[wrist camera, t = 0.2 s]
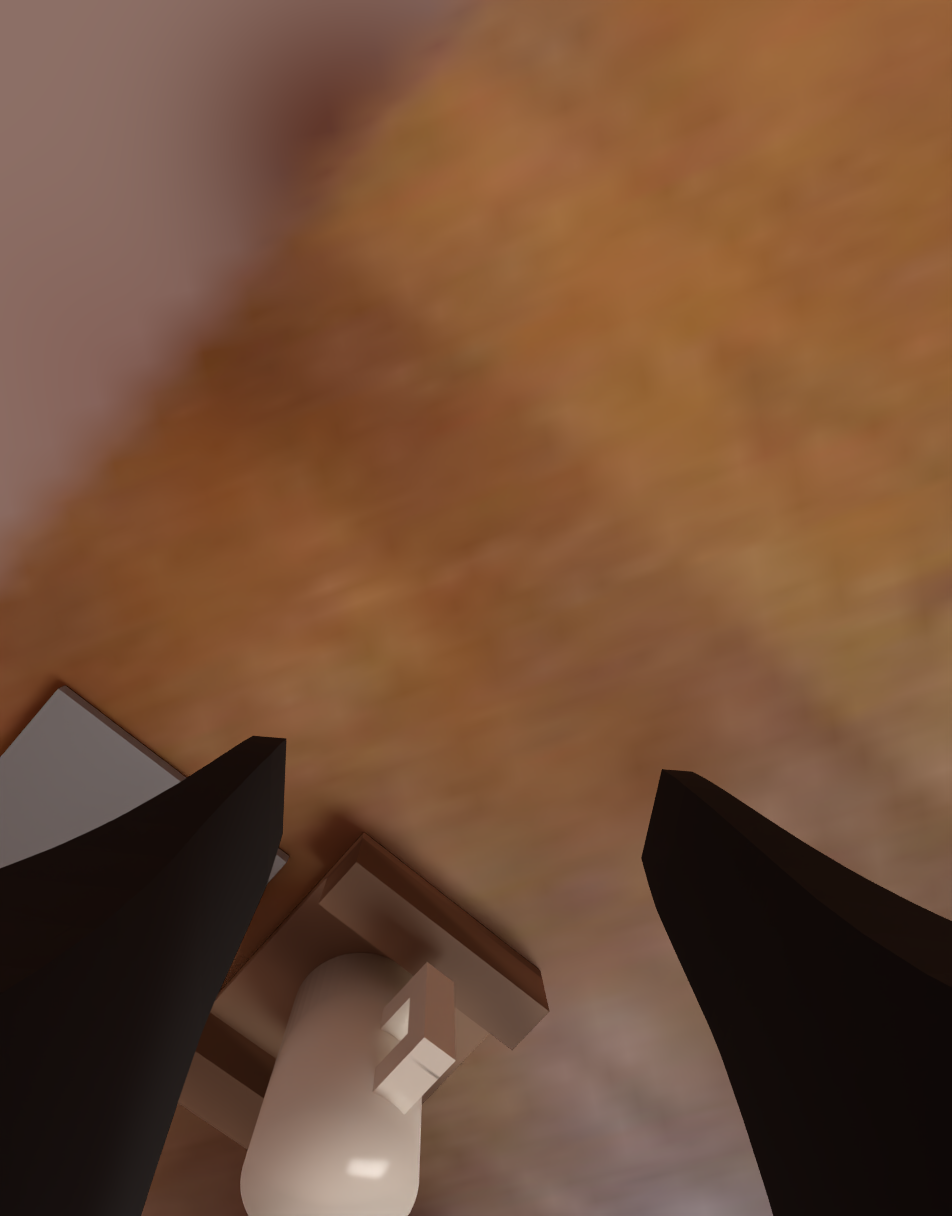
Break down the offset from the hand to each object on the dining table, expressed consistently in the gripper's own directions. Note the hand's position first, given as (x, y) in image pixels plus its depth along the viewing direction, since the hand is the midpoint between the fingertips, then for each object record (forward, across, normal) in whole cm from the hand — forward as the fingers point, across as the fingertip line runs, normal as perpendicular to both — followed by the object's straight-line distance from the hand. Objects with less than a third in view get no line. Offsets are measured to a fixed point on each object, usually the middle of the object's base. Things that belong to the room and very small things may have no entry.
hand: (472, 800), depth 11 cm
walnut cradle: (+8, +2, +15) cm, 17 cm away
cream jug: (+8, +2, +14) cm, 16 cm away
